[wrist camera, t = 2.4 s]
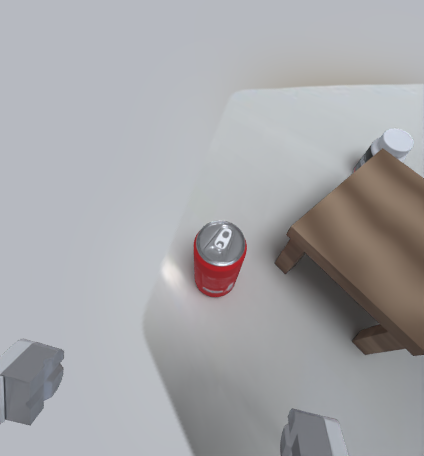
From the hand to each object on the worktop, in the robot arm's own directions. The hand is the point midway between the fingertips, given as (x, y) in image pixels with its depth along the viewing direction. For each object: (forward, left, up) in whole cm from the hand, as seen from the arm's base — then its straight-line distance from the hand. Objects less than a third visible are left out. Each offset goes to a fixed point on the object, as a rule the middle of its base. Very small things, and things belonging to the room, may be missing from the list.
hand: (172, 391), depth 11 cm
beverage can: (-10, -7, -27) cm, 30 cm away
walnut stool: (-25, +4, -27) cm, 37 cm away
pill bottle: (-39, -4, -27) cm, 48 cm away
